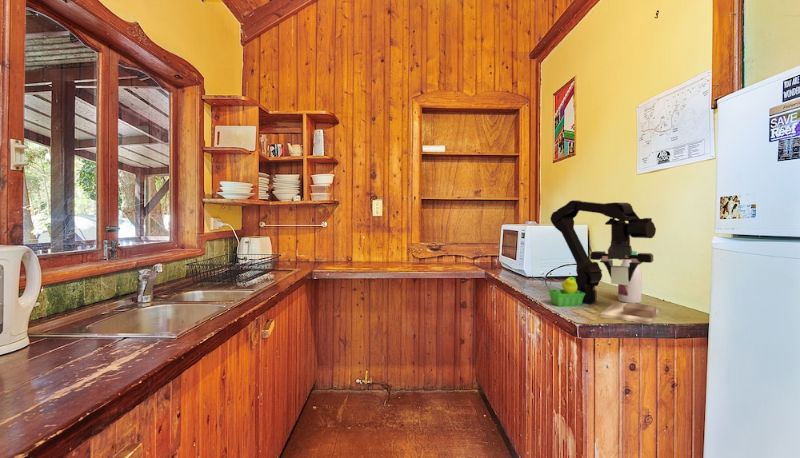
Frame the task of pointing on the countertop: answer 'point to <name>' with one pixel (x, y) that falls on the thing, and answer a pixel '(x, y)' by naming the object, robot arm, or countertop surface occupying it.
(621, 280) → the top block
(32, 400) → the countertop surface
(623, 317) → the board
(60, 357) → the countertop surface
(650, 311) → the base block
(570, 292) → the fruit basket
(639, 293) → the milk bottle
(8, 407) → the countertop surface
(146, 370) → the countertop surface
